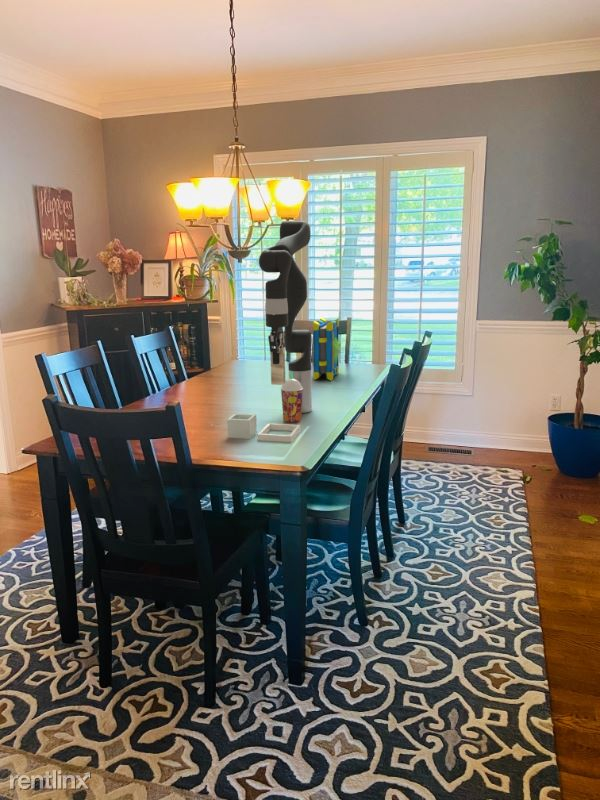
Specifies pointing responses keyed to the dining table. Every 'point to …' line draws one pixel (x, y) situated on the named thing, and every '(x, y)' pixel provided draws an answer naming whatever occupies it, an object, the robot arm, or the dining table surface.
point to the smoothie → (292, 400)
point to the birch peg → (278, 369)
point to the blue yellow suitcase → (326, 348)
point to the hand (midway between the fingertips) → (277, 362)
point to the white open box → (242, 426)
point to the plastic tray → (274, 437)
